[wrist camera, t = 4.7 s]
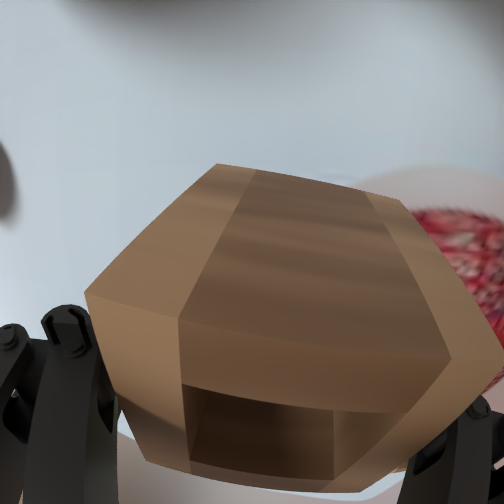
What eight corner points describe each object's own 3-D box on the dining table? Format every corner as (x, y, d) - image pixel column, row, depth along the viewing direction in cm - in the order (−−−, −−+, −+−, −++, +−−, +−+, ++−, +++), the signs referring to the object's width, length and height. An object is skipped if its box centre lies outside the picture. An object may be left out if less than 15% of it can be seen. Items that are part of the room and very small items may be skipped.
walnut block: (216, 163, 11) (84, 292, 4) (399, 200, 10) (508, 359, 3) (205, 309, 14) (146, 460, 7) (347, 334, 14) (359, 492, 7)
